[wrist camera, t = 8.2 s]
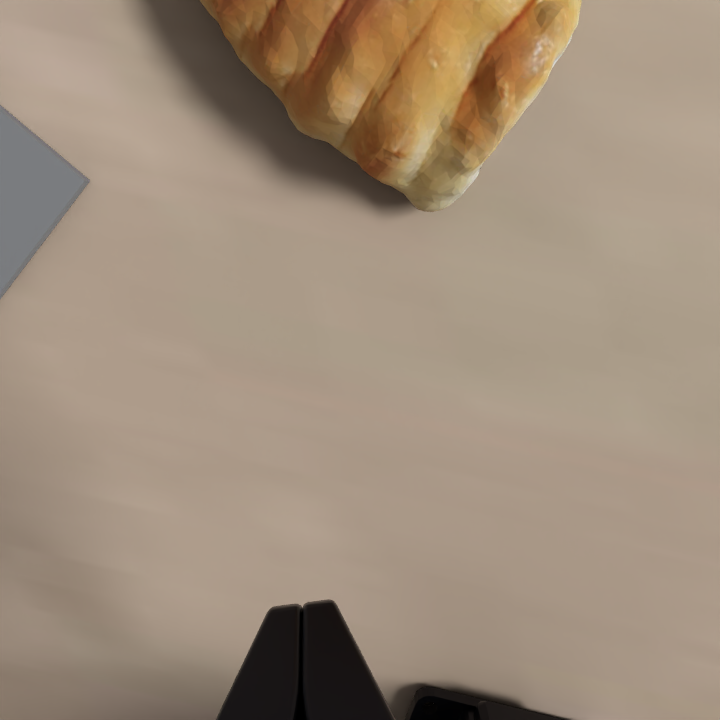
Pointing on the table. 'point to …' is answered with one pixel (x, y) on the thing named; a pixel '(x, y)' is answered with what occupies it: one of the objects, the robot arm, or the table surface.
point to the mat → (30, 194)
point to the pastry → (403, 77)
